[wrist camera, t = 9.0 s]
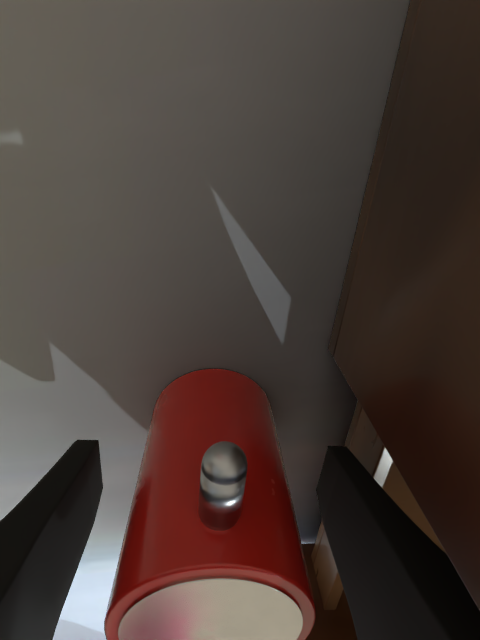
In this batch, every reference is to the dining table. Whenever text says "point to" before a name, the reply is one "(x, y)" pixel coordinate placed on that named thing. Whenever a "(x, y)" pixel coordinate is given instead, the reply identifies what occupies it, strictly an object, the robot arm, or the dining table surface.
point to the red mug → (211, 523)
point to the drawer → (330, 600)
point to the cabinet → (424, 278)
